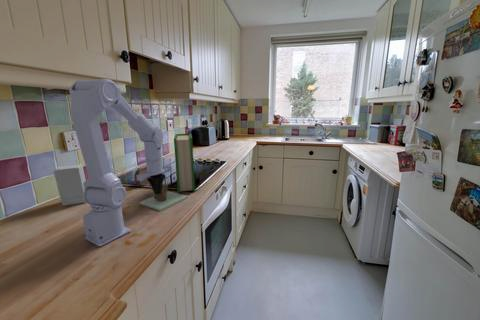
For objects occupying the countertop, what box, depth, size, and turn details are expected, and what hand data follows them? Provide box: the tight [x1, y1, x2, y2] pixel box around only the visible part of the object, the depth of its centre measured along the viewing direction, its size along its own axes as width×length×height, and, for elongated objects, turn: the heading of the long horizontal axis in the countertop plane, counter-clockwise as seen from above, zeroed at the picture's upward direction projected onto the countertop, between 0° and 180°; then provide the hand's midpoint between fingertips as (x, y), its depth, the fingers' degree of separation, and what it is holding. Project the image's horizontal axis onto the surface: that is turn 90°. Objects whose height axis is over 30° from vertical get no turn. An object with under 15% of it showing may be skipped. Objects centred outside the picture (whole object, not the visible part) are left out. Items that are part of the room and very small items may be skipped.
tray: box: [139, 190, 189, 212], centre depth 92 cm, size 14×12×1 cm
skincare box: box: [53, 163, 87, 207], centre depth 90 cm, size 8×6×15 cm
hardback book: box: [173, 133, 196, 194], centre depth 106 cm, size 18×7×24 cm, turn 13°
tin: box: [133, 165, 150, 187], centre depth 114 cm, size 15×3×8 cm, turn 168°
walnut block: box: [153, 183, 169, 201], centre depth 90 cm, size 2×4×6 cm, turn 59°
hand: (157, 193), depth 89 cm, fingers closed
